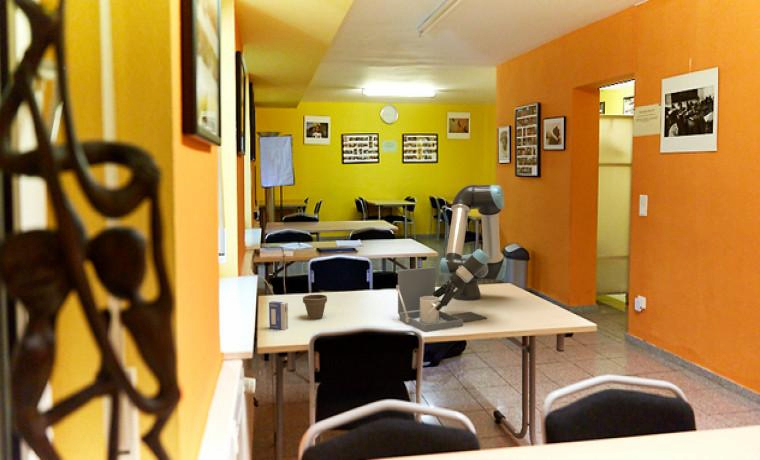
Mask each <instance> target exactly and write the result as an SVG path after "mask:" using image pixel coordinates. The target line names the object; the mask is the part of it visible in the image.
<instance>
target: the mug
mask: <svg viewBox="0 0 760 460" xmlns="http://www.w3.org/2000/svg"><path fill="white" fill-rule="evenodd" d="M439 301H440V297H439V298H438V297H434V296H424V297H421V298H420V318H419V322H421V323H424V324H433V323H439V321H440V318H439V311H440V310H439V311H438V312H437V314H436V315H435V316H434V317H433V316H432V315H430V314H429V311H430V310H431V309H432V308H433V307H434V306H435V305H436V304H437V303H438V302H439ZM439 303H440V302H439Z"/></svg>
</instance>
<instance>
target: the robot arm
mask: <svg viewBox="0 0 760 460" xmlns="http://www.w3.org/2000/svg"><path fill="white" fill-rule="evenodd" d="M504 208H505V194H504V190H503V188H502V186H501V185H498V184H497V185H496V184H495V185H494V184H469V185H466V186H464V187H462V188H461V189H460V190H459V191H458V192H457V193H456V195H455V196H454V198H453V200H452V204H451V212H452V214H451V223H450V229H449V235H448V239H447V240H448V242H447V249H446V255H445V257H442V258H441V259H440V261H439V271H440V272H441V273H442V274H446V275H450V276H449V280H450V281H449V280H447V281H446V282H445V283H444V284H443V285H441V286H440V287H438V289H435V292H433V296H434V297H438V298H439V302H438V303H437V304H436V305H435V306H434V307H433V308H432V309H431V310H430V311H429V314H430V315H432V316H433V317H434V316H435V315H436V314H437V312H438V311H441V309H443V308H444V307H447V306H448V305H449V304H450V302H451V301H452V300H453V299H455V300H461V301H475V300H476V301H477V300H480V299H481V298H482V297H481V296H482V293H481V290H480V288H479V283H478V281H479V280H489V281H503V279H505V276H506V275H505V274H506V270H507V269H506V268H507V258H505V257H504V254H503V253H502V252H501V243H500V241H501V240H500V219H499V214H500V213H501V212H502V209H504ZM472 209H477V212H478V214H479V215H481V230H482V231H481V232H482V234H481V235H482V245H483V246H482V248H483V250H482V249H481V248H478V249H475V251H474V252H472V253H469V254H463V252H464V244H465V239H466V237H465V236H466V230H467V224H468V215H469V214H470V212H471V210H472ZM441 297H442V298H441ZM440 298H441V300H440Z"/></svg>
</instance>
